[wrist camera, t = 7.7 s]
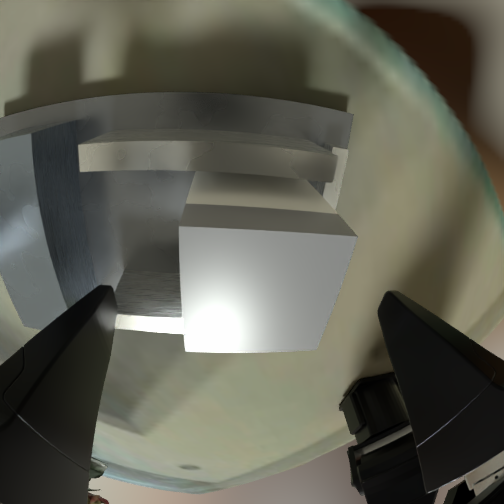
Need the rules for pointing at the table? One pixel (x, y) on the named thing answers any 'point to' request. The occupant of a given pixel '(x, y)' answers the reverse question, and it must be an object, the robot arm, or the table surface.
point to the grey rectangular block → (259, 263)
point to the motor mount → (138, 190)
